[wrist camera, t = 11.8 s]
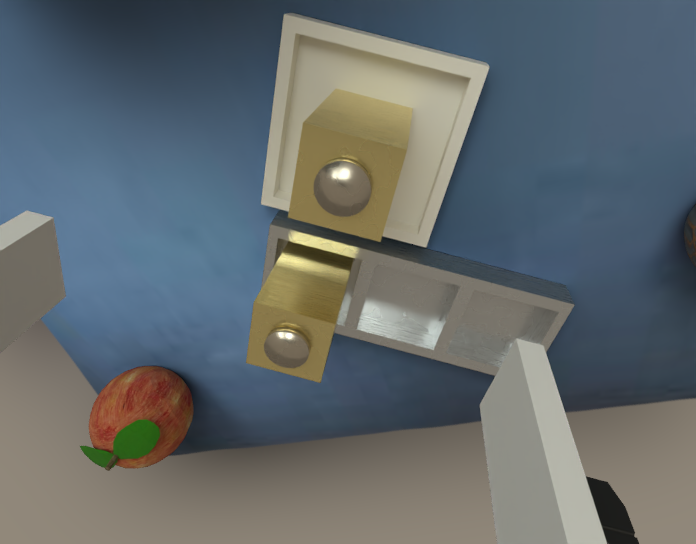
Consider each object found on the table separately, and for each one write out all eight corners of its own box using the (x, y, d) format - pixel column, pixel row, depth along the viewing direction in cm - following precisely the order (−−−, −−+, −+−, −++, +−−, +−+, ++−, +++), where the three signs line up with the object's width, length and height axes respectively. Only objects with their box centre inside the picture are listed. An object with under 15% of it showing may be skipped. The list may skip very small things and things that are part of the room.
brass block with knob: (282, 287, 38) (242, 369, 30) (291, 234, 35) (250, 308, 27) (342, 303, 38) (318, 389, 30) (355, 251, 35) (333, 330, 27)
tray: (268, 194, 34) (260, 204, 33) (291, 12, 28) (283, 13, 26) (426, 236, 34) (425, 247, 32) (486, 62, 28) (489, 66, 26)
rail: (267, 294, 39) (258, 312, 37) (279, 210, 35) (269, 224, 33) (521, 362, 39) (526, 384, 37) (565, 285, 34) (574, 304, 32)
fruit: (225, 402, 47) (181, 493, 38) (154, 419, 50) (98, 507, 42) (177, 338, 43) (116, 423, 35) (103, 361, 46) (30, 444, 38)
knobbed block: (335, 88, 29) (299, 125, 21) (412, 108, 29) (406, 153, 21) (321, 163, 32) (284, 222, 24) (392, 181, 32) (379, 247, 24)
